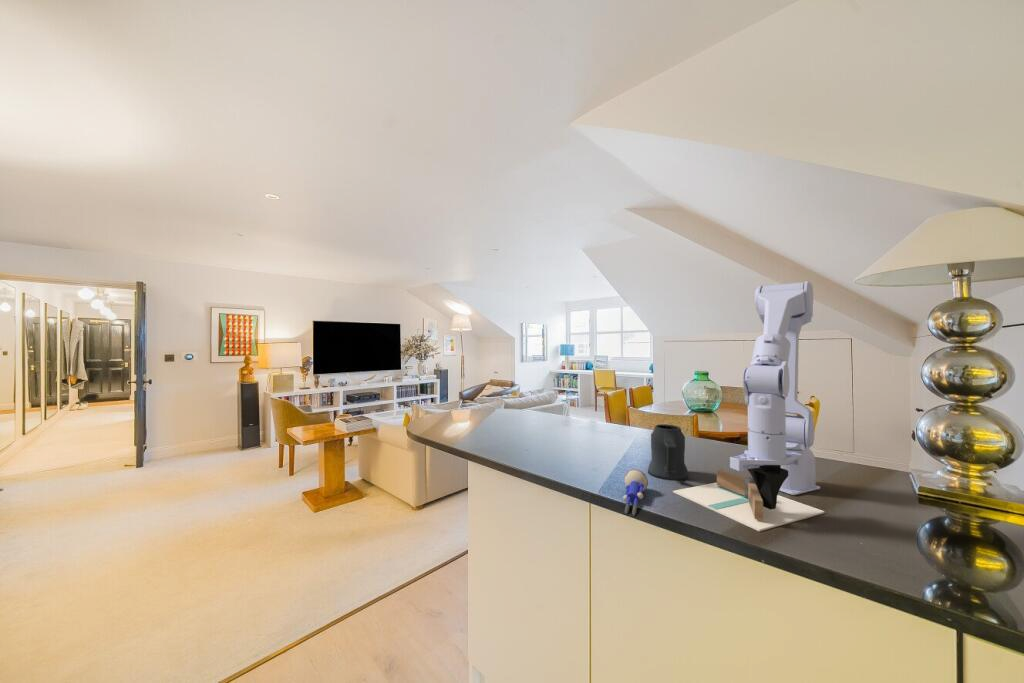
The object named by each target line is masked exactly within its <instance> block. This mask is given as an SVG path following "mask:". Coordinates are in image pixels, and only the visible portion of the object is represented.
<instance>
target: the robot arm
mask: <svg viewBox="0 0 1024 683" xmlns="http://www.w3.org/2000/svg"><path fill="white" fill-rule="evenodd" d="M754 306H755V309H756V312H757V314H758V317H759V320H760V321H761V323H762V324H763V333H762V334H761V335H759V336H758V337H757V338H756V339H755V341H754V346H753V350H752V354H751V359H750V365H749V366H748V367H745V368H744V369H743V373H742V388H743V393H744V402H745V404H744V405H747V449H745V450H744V453H743V454H739V455H736V456H730V457H729V469H732V470H736V471H738V472H743V471H744V470H747V471H748V472H749V474H750V476H751V478H753V479H754V481H755V484H756V486H757V489H758V491H759V493H760V496H761V498H762V500H763V507H766V508H768V509H770V510H771V509H775V508H776V504H777V495H779V492H782V493H786V494H789V495H791V496H796V495H800V494H804V493H808V492H812V491H813V492H814V491H816V490H821V486H819V485H816V457H815V455H814V453H813V451H812V450H811V449H810V448H812V446H814V443H815V430H816V429H815V421H814V412H812V409H810V408H809V407H808V406H807V405H805V404H803V403H802V402H800V401H799V400H798V399H799V398H798V392H799V390H798V389H799V387H798V385H799V348H800V347H799V342H800V340H799V339H800V334H801V330H802V328H803V326H805V325H806V324H808V323H811V322H812V318H813V317H814V286H813V284H812V282H810V281H808V280H805V281H802V282H793V283H781V284H772V285H771V284H770V285H759V286H757V288H756V289H755V292H754ZM788 414H791V415H788ZM797 415H798V416H797Z"/></svg>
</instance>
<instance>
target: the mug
mask: <svg viewBox="0 0 1024 683" xmlns="http://www.w3.org/2000/svg"><path fill="white" fill-rule="evenodd" d="M650 448H651V450H650V451H651V460H650V461H649V464H648V469H647V473H648V475H650V476H652V477H653V478H656V479H659V480H665V481H671V482H673V481H676V482H677V481H679V482H680V481H685V480H688V479H689V472H688V467H687V465H686V464H685V450H686V436H685V434H684V433H683V432H682V428H681V427H680V426H678V425H674V424H665V423H664V424H656V425H654V429H653V431H652V432H651V433H650Z"/></svg>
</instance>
